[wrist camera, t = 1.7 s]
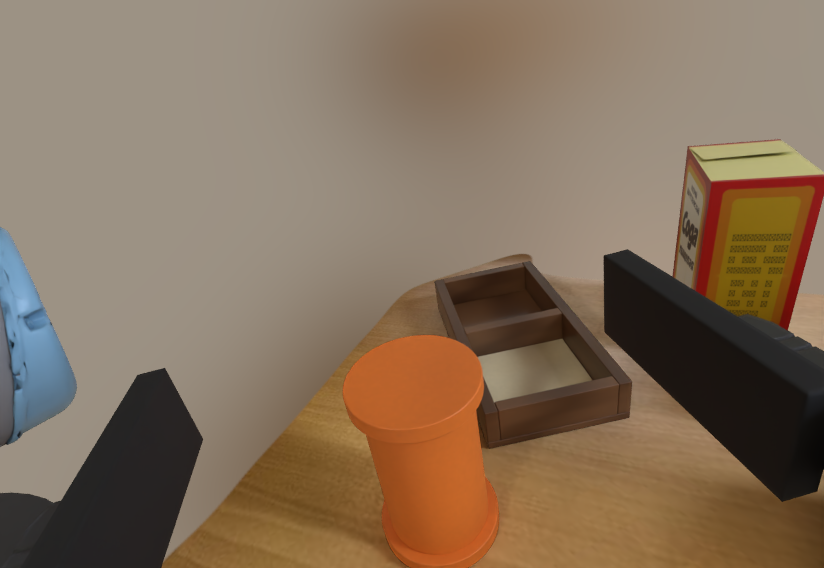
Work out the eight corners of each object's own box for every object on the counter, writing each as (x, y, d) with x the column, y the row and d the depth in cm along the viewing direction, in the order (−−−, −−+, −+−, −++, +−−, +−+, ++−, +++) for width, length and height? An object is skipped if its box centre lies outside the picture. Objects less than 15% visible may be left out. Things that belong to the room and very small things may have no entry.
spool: (389, 588, 27) (342, 444, 22) (380, 481, 34) (342, 349, 28) (515, 559, 28) (500, 409, 22) (481, 458, 34) (464, 323, 29)
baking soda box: (778, 365, 38) (830, 170, 30) (685, 360, 40) (712, 177, 32) (745, 302, 45) (780, 134, 38) (669, 301, 48) (688, 141, 40)
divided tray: (488, 449, 35) (484, 413, 33) (438, 308, 54) (434, 280, 52) (629, 417, 35) (632, 381, 34) (531, 288, 54) (530, 260, 52)
